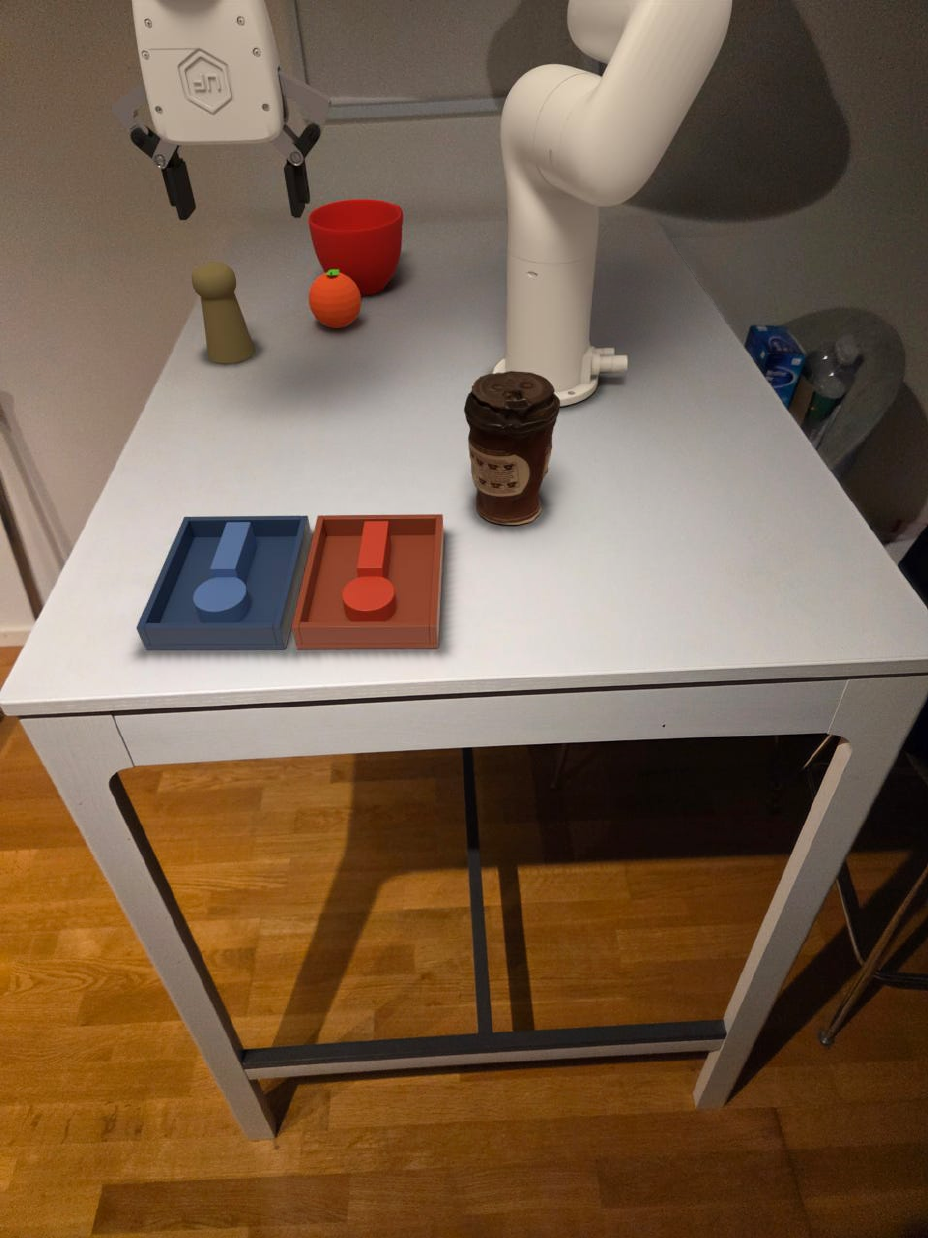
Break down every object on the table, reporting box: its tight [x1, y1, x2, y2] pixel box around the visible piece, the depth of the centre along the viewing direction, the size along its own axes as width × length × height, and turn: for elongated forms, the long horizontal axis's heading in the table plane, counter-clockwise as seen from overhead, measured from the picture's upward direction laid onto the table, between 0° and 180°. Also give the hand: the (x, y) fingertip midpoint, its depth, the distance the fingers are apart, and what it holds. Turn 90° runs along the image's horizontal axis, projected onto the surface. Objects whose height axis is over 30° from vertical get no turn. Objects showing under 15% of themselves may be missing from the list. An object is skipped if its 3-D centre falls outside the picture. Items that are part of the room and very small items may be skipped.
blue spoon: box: [193, 522, 257, 623], centre depth 69 cm, size 11×4×3 cm, turn 179°
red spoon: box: [342, 521, 396, 622], centre depth 69 cm, size 11×4×3 cm, turn 179°
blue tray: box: [135, 515, 313, 651], centre depth 70 cm, size 12×15×3 cm
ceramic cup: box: [308, 198, 404, 297], centre depth 115 cm, size 13×17×10 cm
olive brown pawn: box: [191, 261, 256, 364], centre depth 99 cm, size 6×6×11 cm
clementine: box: [308, 269, 362, 329], centre depth 106 cm, size 8×7×7 cm
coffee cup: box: [463, 371, 561, 526], centre depth 73 cm, size 9×8×13 cm
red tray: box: [291, 513, 445, 650], centre depth 69 cm, size 12×15×3 cm
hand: (243, 213), depth 69 cm, fingers open, 9 cm apart
